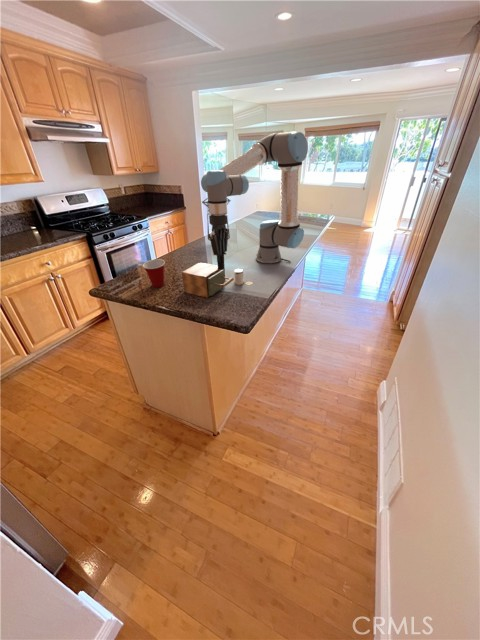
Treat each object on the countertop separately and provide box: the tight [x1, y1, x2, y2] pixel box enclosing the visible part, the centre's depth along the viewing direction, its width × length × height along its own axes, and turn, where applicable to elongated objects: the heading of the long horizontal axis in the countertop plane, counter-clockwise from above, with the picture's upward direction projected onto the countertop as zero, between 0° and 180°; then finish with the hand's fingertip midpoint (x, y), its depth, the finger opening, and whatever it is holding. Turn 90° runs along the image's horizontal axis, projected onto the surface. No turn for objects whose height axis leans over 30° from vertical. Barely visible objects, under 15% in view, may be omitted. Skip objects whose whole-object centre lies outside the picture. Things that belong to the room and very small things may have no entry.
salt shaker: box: [233, 268, 244, 286], centre depth 136 cm, size 4×4×7 cm
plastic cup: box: [142, 258, 166, 288], centre depth 134 cm, size 11×11×12 cm
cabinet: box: [181, 262, 220, 299], centre depth 129 cm, size 13×14×10 cm
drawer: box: [206, 269, 235, 297], centre depth 127 cm, size 18×13×9 cm
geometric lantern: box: [201, 197, 232, 241], centre depth 188 cm, size 16×16×35 cm
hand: (221, 268), depth 121 cm, fingers closed
